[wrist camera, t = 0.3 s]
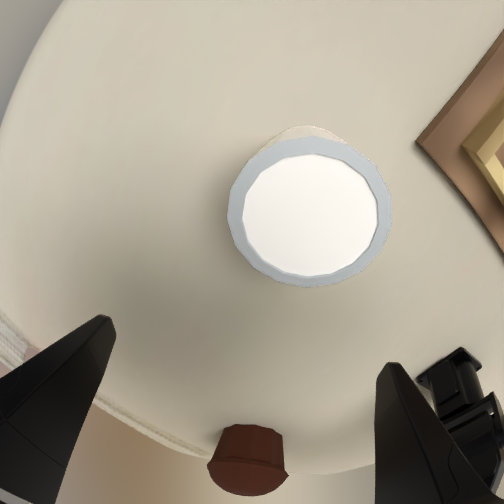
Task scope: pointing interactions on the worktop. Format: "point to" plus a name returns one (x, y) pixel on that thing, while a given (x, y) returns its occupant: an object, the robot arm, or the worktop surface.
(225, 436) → the muffin
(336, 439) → the worktop surface
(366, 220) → the white cup
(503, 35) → the holder
